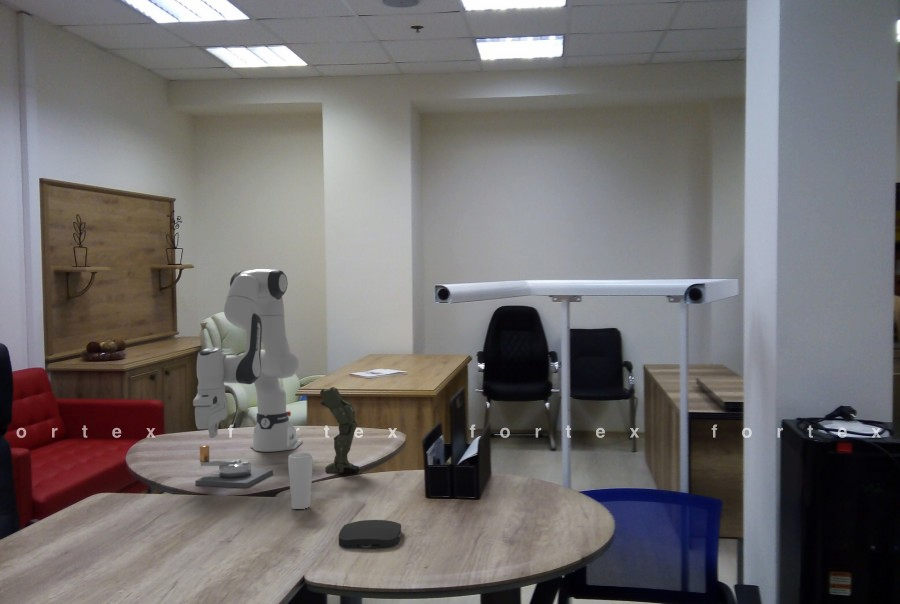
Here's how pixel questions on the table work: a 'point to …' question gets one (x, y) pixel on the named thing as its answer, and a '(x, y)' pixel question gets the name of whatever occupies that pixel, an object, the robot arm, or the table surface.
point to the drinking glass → (300, 479)
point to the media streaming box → (370, 534)
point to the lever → (225, 465)
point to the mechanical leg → (341, 430)
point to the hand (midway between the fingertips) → (213, 436)
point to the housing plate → (234, 479)
